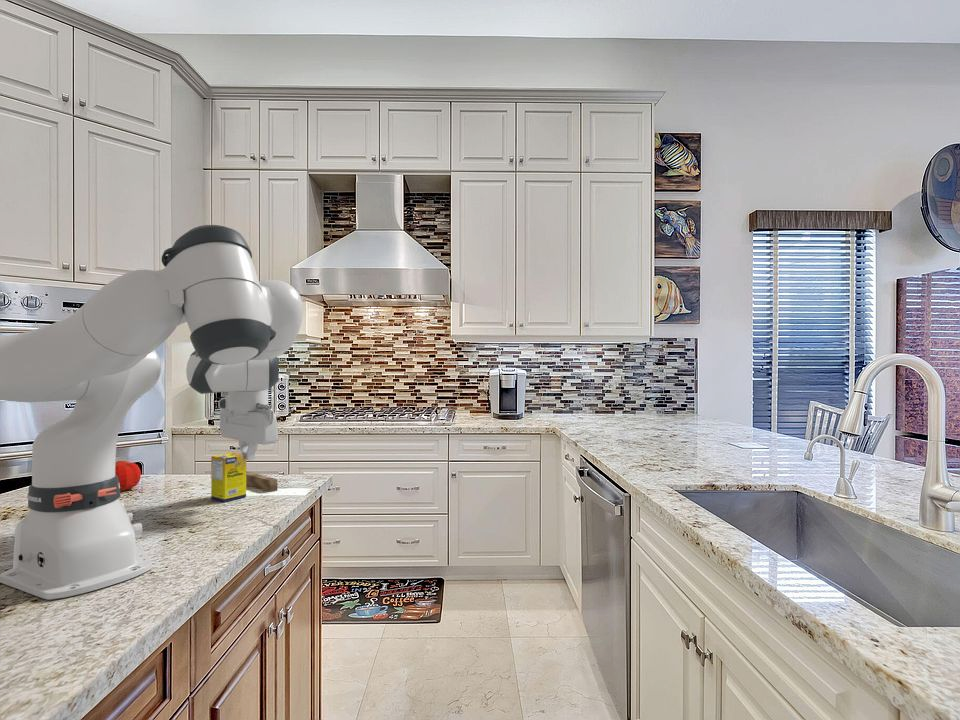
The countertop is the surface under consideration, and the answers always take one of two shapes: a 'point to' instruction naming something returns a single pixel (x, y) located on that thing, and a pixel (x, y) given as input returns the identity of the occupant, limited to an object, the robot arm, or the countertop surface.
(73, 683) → the countertop surface
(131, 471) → the tomato
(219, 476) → the supplement box
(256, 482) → the walnut rail
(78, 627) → the countertop surface
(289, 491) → the countertop surface
